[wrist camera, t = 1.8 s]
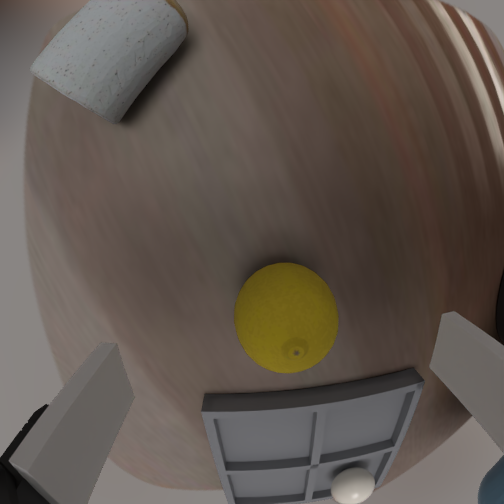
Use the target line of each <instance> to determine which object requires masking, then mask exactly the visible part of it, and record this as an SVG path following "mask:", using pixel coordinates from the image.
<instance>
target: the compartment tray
mask: <svg viewBox="0 0 504 504" xmlns="http://www.w3.org/2000/svg"><path fill="white" fill-rule="evenodd" d="M424 382H425V381H424V379H423V378H422V377H421V376H420V375H419V373H418V372H417V371H416V370H415V369H414V368H412V369H408V370H404V371H400V372H396V373H392V374H387V375H383V376H379V377H374V378H369V379H364V380H359V381H353V382H348V383H342V384H336V385H329V386H322V387H315V388H307V389H298V390H288V391H277V392H263V393H244V394H205V396H204V400H203V405H202V410H201V413H202V417H203V421H204V425H205V429H206V432H207V436H208V440H209V443H210V447H211V451H212V454H213V458H214V461H215V464H216V468H217V471H218V474H219V477H220V480H221V484H222V487H223V490H224V492H225V495H226V498H227V501H228V504H300V503H307V502H314V501H319V500H325V499H331V498H333V496H332V494H331V484H332V482H333V480H334V478H335V477H336V476H337V475H338V474H339V473H340V472H342V471H344V470H346V469H348V468H353V467H360V468H364V469H366V470H368V471H369V472H370V473H371V474H372V475H373V477H374V480H375V487H374V488H377V487H380V485H381V484H382V482H383V480H384V478H385V476H386V474H387V472H388V471H389V469H390V467H391V465H392V463H393V461H394V459H395V456H396V454H397V452H398V450H399V448H400V446H401V444H402V441H403V439H404V437H405V434H406V432H407V430H408V427H409V425H410V422H411V420H412V417H413V414H414V412H415V409H416V406H417V403H418V401H419V398H420V395H421V392H422V389H423V385H424Z"/></svg>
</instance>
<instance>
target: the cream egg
mask: <svg viewBox="0 0 504 504" xmlns="http://www.w3.org/2000/svg"><path fill="white" fill-rule="evenodd" d="M374 487H375V480H374V477H373V475H372V474H371V473H370V472H369V471H368V470H366V469H364V468H360V467H353V468H348V469H346V470H344V471H342V472H340V473H339V474H338V475H337V476H336V477H335V478H334V480H333V482H332V484H331V494H332V496H333V498H334V499H335V500H336V501H337V502H339V503H341V504H359V503H361V502H363V501H365V500H366V499H367V498H368V497H369V496H370V495H371V494H372V492H373V490H374Z"/></svg>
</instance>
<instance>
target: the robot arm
mask: <svg viewBox="0 0 504 504" xmlns="http://www.w3.org/2000/svg"><path fill="white" fill-rule="evenodd" d="M496 319H497V331H498V334H499V337H500V339H501V340H502V341H503V342H504V275H503V279H502V283H501V287H500V292H499V298H498V304H497V318H496ZM429 368H430V369H431V370H432V371H433V372H434V373H435V374H436V375H437V376H438V377H439V379H440V380H441V381H442V382H443V383H444V384H445V385H446V386H447V387H448V388H449V390H450V391H451V392H452V393H453V394H454V395H455V396H456V397H457V398H458V400H459V401H460V402H461V403H462V404H463V405H464V406H465V408H466V409H467V410H468V411H469V412H470V413H471V415H472V416H473V417H474V418H475V419H476V420H477V422H478V423H479V424H480V425H481V426H482V427H483V429H484V430H485V431H486V432H487V433H488V434H489V436H490V437H491V438H492V439H493V441H494V442H495V443H496V444H497V446H498V447H499V448H500V449H501V451H502V452H503V453H504V346H503V345H502V344H501V343H499V342H498V341H497V340H495V339H494V338H492V337H491V336H490V335H488V334H487V333H485V332H484V331H482V330H481V329H480V328H478V327H477V326H475V325H474V324H472V323H471V322H469V321H468V320H467V319H465V318H464V317H462V316H461V315H459V314H458V313H456V312H455V311H452V312H448V313H444V314H442V316H441V321H440V326H439V331H438V335H437V339H436V344H435V348H434V352H433V355H432V359H431V363H430V366H429ZM134 398H135V396H134V393H133V391H132V388H131V385H130V382H129V379H128V377H127V374H126V371H125V368H124V365H123V362H122V358H121V355H120V352H119V349H118V345H117V343H102V342H101V343H100V344H99V345H98V346H97V347H96V349H95V350H94V351H93V352H92V353H91V354H90V356H89V357H88V358H87V359H86V360H85V362H84V363H83V364H82V365H81V366H80V367H79V369H78V370H77V371H76V372H75V374H74V375H73V376H72V377H71V378H70V380H69V381H68V382H67V383H66V385H65V386H64V387H63V388H62V390H61V391H60V392H59V393H58V395H57V396H56V397H55V398H54V400H53V401H52V402H51V404H50V405H47V404H45V405H44V406H43V407H41V408H40V409H38V410H37V411H35V412H34V414H33V415H32V416H31V417H30V419H29V420H28V423H26V424H25V425H24V427H23V428H22V431H20V432H19V433H18V434H17V436H16V437H15V438H14V440H13V441H12V443H11V444H10V445H9V447H8V448H7V449H6V451H5V452H4V453H3V455H2V456H1V457H0V504H88V501H89V499H90V496H91V494H92V491H93V489H94V487H95V484H96V482H97V480H98V477H99V475H100V473H101V470H102V468H103V466H104V463H105V461H106V459H107V457H108V454H109V452H110V450H111V448H112V445H113V443H114V441H115V439H116V437H117V434H118V432H119V430H120V428H121V426H122V424H123V421H124V419H125V417H126V415H127V413H128V411H129V409H130V407H131V404H132V402H133V400H134ZM478 504H504V455H503V456H502V457H501V459H500V460H499V461H498V462H497V463H496V464H495V465H494V466H493V467H492V468H491V469H490V470H489V471H488V473H487V474H486V475H485V477H484V478H483V480H482V482H481V484H480V488H479V492H478Z"/></svg>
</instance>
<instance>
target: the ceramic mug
mask: <svg viewBox="0 0 504 504" xmlns="http://www.w3.org/2000/svg"><path fill="white" fill-rule="evenodd" d="M187 33H188V20H187V17H186V15H185V13H184V11H183V9H182V8H181V6H180V5H179V4H178V3H177V2H176V0H90V1H89V2H88V3H87V4H86V5H85V6H84V7H83V8H82V9H81V10H80V11H79V12H78V13H77V14H76V15H75V16H74V17H73V18H72V19H71V20H70V21H69V22H68V23H67V24H66V25H65V26H64V27H63V28H62V30H61V31H60V32H59V33H58V34H57V35H56V36H55V37H54V38H53V39H52V41H51V42H50V43H49V44H48V45H47V46H46V48H45V49H44V50H43V51H42V53H41V54H40V55H39V56H38V58H37V59H36V60H35V62H34V63H33V64H32V66H31V68H30V71H31V73H32V74H33V75H35V76H37V77H38V78H39V79H41V80H42V81H44V82H46V83H47V84H49V85H50V86H52V87H53V88H55V89H56V90H58V91H59V92H60V93H62V94H64V95H65V96H67V97H68V98H70V99H72V100H74V101H76V102H78V103H79V104H81V105H82V106H84V107H85V108H87V109H89V110H90V111H92V112H94V113H96V114H97V115H99V116H100V117H102V118H104V119H106V120H107V121H109V122H111V123H113V124H117V123H118V122H119V121H120V120H121V119H122V117H123V116H124V114H125V113H126V111H127V110H128V108H129V107H130V106H131V104H132V103H133V101H134V100H135V99H136V97H137V96H138V95H139V93H140V92H141V91H142V90H143V89H144V87H145V86H146V85H147V84H148V82H149V81H150V80H151V78H152V77H153V76H154V75H155V74H156V72H157V71H158V70H159V69H160V68H161V66H162V65H163V64H164V63H165V62H166V61H167V60H168V59H169V58H170V57H171V56H172V55H173V53H174V52H175V51H176V50H177V49H178V47H179V46H180V44H181V43H182V42H183V40H184V38H185V37H186V35H187Z"/></svg>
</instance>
